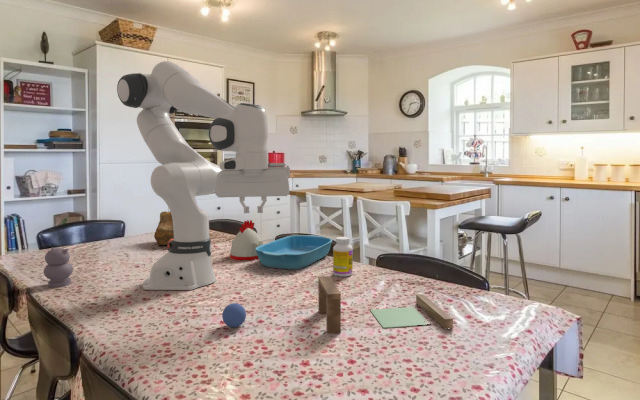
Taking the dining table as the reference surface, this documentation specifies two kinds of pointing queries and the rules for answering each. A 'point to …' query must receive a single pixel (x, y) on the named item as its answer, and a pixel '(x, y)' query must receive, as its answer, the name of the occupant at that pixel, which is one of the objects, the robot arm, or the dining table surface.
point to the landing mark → (398, 317)
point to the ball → (234, 315)
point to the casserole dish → (293, 251)
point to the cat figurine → (58, 267)
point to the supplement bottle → (342, 257)
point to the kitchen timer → (245, 243)
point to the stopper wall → (434, 311)
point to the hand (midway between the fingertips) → (253, 212)
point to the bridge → (330, 303)
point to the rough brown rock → (164, 229)
